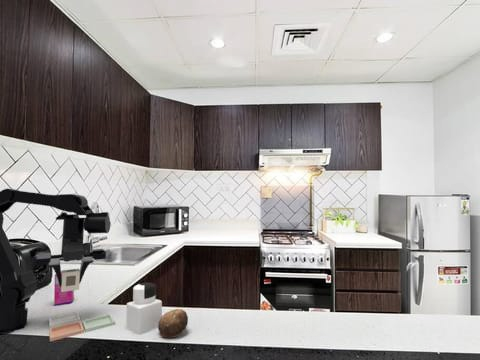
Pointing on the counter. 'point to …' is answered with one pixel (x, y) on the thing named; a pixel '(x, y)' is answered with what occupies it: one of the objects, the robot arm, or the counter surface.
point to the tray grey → (63, 319)
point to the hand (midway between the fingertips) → (70, 285)
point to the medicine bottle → (143, 309)
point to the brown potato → (173, 323)
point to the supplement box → (62, 294)
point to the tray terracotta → (66, 330)
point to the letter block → (70, 280)
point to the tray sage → (98, 322)
